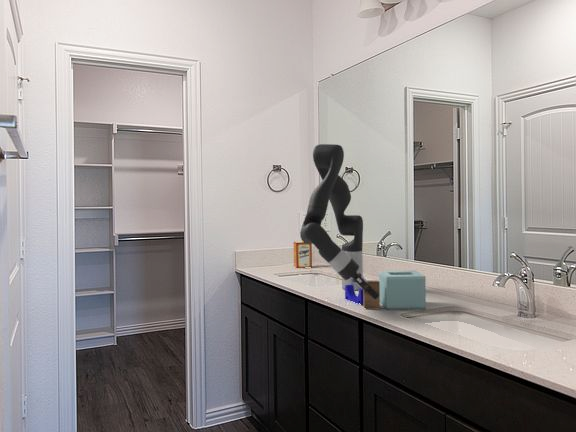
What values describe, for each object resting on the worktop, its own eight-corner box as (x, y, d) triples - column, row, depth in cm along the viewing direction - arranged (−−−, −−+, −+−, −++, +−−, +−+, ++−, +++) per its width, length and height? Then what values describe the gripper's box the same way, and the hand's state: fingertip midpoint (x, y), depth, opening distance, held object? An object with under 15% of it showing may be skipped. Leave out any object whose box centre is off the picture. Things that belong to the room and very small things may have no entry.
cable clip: (371, 304, 172) (371, 289, 172) (361, 305, 170) (361, 290, 170) (354, 298, 183) (354, 284, 183) (345, 299, 181) (345, 285, 181)
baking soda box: (308, 266, 278) (308, 240, 278) (311, 268, 272) (311, 241, 271) (293, 267, 276) (293, 241, 275) (296, 268, 269) (296, 242, 269)
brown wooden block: (363, 307, 167) (363, 280, 167) (378, 307, 167) (377, 280, 167) (364, 309, 164) (364, 281, 164) (379, 309, 164) (379, 281, 164)
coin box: (379, 301, 176) (379, 271, 176) (415, 301, 176) (414, 270, 176) (386, 309, 162) (386, 276, 162) (425, 309, 162) (425, 276, 162)
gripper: (353, 259, 158) (386, 291, 158) (348, 255, 172) (378, 284, 172) (338, 274, 158) (371, 306, 158) (334, 269, 172) (364, 298, 173)
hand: (375, 295), depth 165 cm, fingers open, 8 cm apart
